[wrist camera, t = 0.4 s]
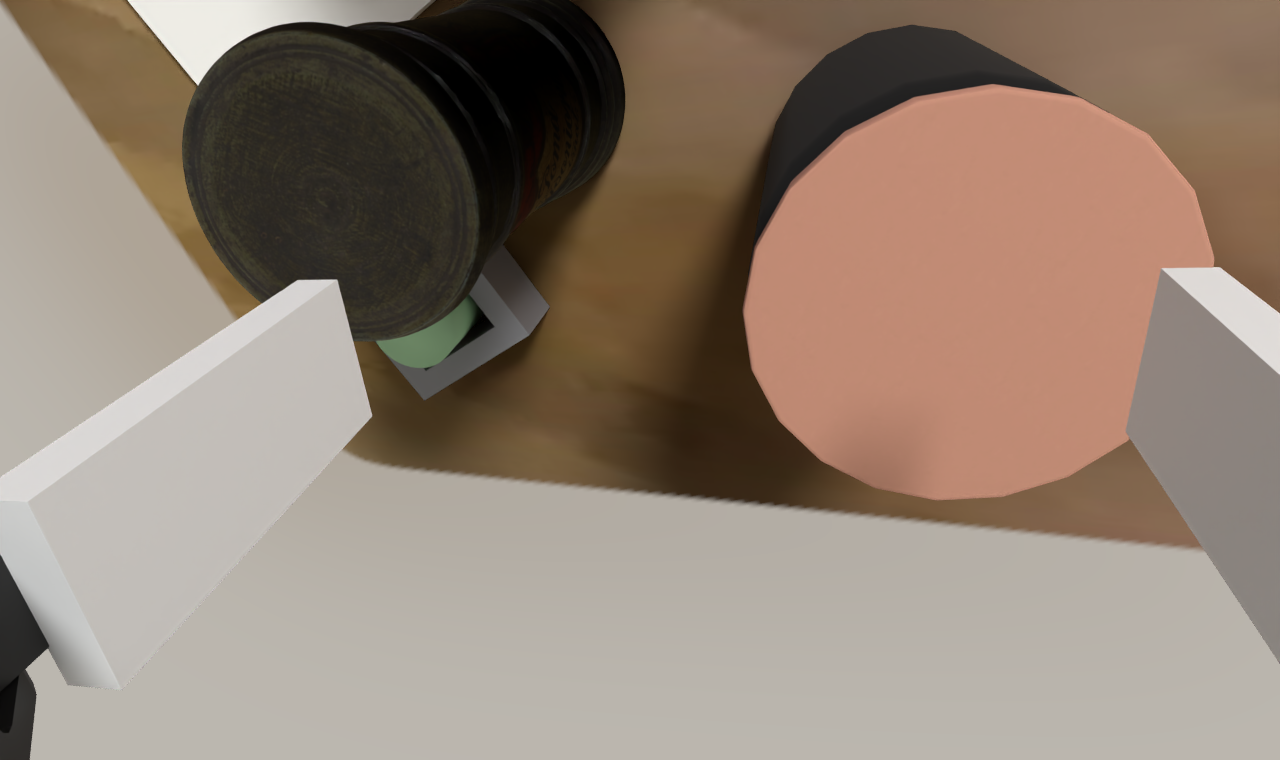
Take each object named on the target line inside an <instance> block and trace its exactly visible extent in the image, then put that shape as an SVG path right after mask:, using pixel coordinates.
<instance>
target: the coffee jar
mask: <svg viewBox="0 0 1280 760" xmlns="http://www.w3.org/2000/svg"><path fill="white" fill-rule="evenodd" d="M1213 265H1214V255H1213V252H1212V248H1211V245H1210V242H1209V238H1208V235H1207V231H1206V228H1205V224H1204V221H1203V218H1202V214H1201V211H1200V207H1199V204H1198V200H1197V197H1196V194H1195V190H1194V189H1193V188H1192V186H1191V185H1190V184H1189V183H1188V182H1187V180H1186V179H1185V178H1184V177H1183V176H1182V174H1181V173H1180V172H1179V171H1178V170H1177V168H1176V167H1175V166H1174V165H1173V164H1172V162H1171V161H1170V160H1169V159H1168V158H1167V156H1166V155H1165V154H1164V153H1163V151H1162V150H1161V149H1160V148H1159V147H1158V145H1157V144H1156V143H1155V142H1154V141H1153V139H1152V138H1151V137H1150V136H1149V135H1148V134H1147V133H1145V132H1143V131H1141V130H1139V129H1138V128H1136V127H1134V126H1132V125H1130V124H1128V123H1126V122H1125V121H1123V120H1121V119H1119V118H1117V117H1115V116H1113V115H1112V114H1110V113H1109V112H1107V111H1105V110H1103V109H1102V108H1100V107H1098V106H1096V105H1094V104H1092V103H1090V102H1088V101H1087V100H1085V99H1083V98H1081V97H1079V96H1077V95H1075V94H1074V93H1072V92H1070V91H1068V90H1066V89H1064V88H1062V87H1061V86H1059V85H1057V84H1055V83H1053V82H1051V81H1049V80H1048V79H1046V78H1044V77H1042V76H1040V75H1038V74H1036V73H1034V72H1032V71H1030V70H1029V69H1027V68H1025V67H1023V66H1021V65H1019V64H1017V63H1015V62H1013V61H1011V60H1010V59H1008V58H1006V57H1004V56H1002V55H1000V54H998V53H996V52H994V51H992V50H990V49H989V48H987V47H985V46H983V45H981V44H979V43H977V42H975V41H973V40H971V39H970V38H968V37H966V36H964V35H962V34H960V33H958V32H956V31H951V30H944V29H937V28H930V27H923V26H916V25H908V26H903V27H898V28H892V29H887V30H882V31H876V32H871V33H867V34H865V35H863V36H861V37H859V38H857V39H855V40H854V41H852V42H850V43H848V44H846V45H844V46H842V47H841V48H839V49H837V50H835V51H833V52H831V53H829V54H827V55H826V56H825V57H824V58H823V59H822V60H821V61H820V62H819V63H818V64H817V65H816V66H815V67H814V68H813V69H812V70H811V71H810V72H809V73H808V74H807V75H806V76H805V77H804V78H803V79H802V80H801V81H800V82H799V83H798V84H797V85H796V86H795V88H794V90H793V92H792V94H791V96H790V98H789V100H788V101H787V103H786V105H785V107H784V109H783V111H782V113H781V114H780V116H779V118H778V120H777V122H776V124H775V129H774V134H773V140H772V145H771V150H770V155H769V160H768V166H767V171H766V177H765V182H764V188H763V194H762V199H761V205H760V210H759V216H758V222H757V227H756V233H755V238H754V244H753V249H752V255H751V261H750V266H749V272H748V283H747V288H746V294H745V299H744V304H743V309H742V311H743V318H744V325H745V331H746V338H747V345H748V352H749V358H750V365H751V370H752V371H753V373H754V375H755V377H756V379H757V381H758V383H759V385H760V387H761V388H762V390H763V392H764V394H765V396H766V398H767V400H768V402H769V404H770V405H771V407H772V409H773V411H774V413H775V415H776V417H777V419H778V420H779V421H780V422H781V423H782V424H783V425H784V426H785V427H786V428H787V429H788V430H789V431H790V432H791V433H792V434H793V435H794V436H795V437H796V438H797V439H798V440H800V441H801V442H802V443H803V444H804V445H805V446H806V447H807V448H808V449H809V450H810V451H811V452H812V453H813V454H814V455H815V456H816V457H817V458H818V459H820V460H821V461H822V462H824V463H826V464H828V465H830V466H832V467H834V468H836V469H838V470H840V471H842V472H844V473H846V474H848V475H850V476H852V477H854V478H856V479H858V480H860V481H862V482H864V483H866V484H868V485H870V486H872V487H874V488H877V489H882V490H887V491H892V492H897V493H902V494H907V495H912V496H917V497H922V498H927V499H932V500H953V499H971V498H990V497H1003V496H1007V495H1010V494H1013V493H1017V492H1020V491H1023V490H1026V489H1030V488H1033V487H1036V486H1040V485H1043V484H1046V483H1049V482H1053V481H1056V480H1059V479H1062V478H1066V477H1068V476H1070V475H1072V474H1073V473H1075V472H1077V471H1078V470H1080V469H1082V468H1083V467H1085V466H1087V465H1088V464H1090V463H1092V462H1093V461H1095V460H1097V459H1098V458H1100V457H1102V456H1103V455H1105V454H1106V453H1108V452H1110V451H1111V450H1113V449H1115V448H1116V447H1118V446H1120V445H1121V444H1123V443H1125V442H1126V441H1128V440H1129V439H1130V438H1129V436H1128V434H1127V433H1126V426H1127V421H1128V417H1129V412H1130V408H1131V403H1132V399H1133V394H1134V389H1135V385H1136V380H1137V376H1138V371H1139V367H1140V362H1141V358H1142V353H1143V348H1144V344H1145V339H1146V335H1147V330H1148V326H1149V321H1150V317H1151V312H1152V307H1153V303H1154V298H1155V294H1156V289H1157V285H1158V280H1159V275H1160V271H1161V268H1213Z"/></svg>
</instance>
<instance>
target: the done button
mask: <svg viewBox="0 0 1280 760" xmlns="http://www.w3.org/2000/svg"><path fill="white" fill-rule="evenodd" d="M483 314H484V312H483V311H482V310H481V309H480V307H479V306H478V305H477V303H476V302H475V301H474V300H473V298H472V297H471V296H470V295H469V294H468V296H467V297H466V298H465V299H464V300H463V301H462V302H461V303H460V305H459V306H458V307H456V308H455V309H454V310H453V311H452V312H451V313H450V314H448V315H447V316H446V317H444V318H443V319H441V320H440V321H438V322H437V323H435V324H433V325H431V326H430V327H428V328H426V329H423V330H421V331H419V332H416V333H413V334H411V335H408V336H404V337H400V338H396V339H391V340H383V341H376V342H377V344H378V345H379V347H380V348H381V349H382V350H383V351H384V353H386V354H387V355H388V356H389V357H390V358H392V359H393V360H395V361H396V362H398V363H400V364H403V365H405V366H409V367H414V368H427V367H431V366H434V365H436V364H438V363H440V362H441V361H442V360H444V359H445V358H446V356H447V355H448V354H449V353H450V352H451V351H452V350H453V349H454V347H455V346H456V345H457V344H458V343H459V342H460V341H461V340H462V338H463V337H464V336H465V335H466V334H467V333H468V332H469V331H470V329H471V328H472V327H473V326H474V325H475V324H476V323H477V322H478V320H479V319H480V318H481V317H482V315H483Z"/></svg>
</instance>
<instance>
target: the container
mask: <svg viewBox="0 0 1280 760" xmlns="http://www.w3.org/2000/svg"><path fill="white" fill-rule="evenodd" d="M624 112H625V88H624V81H623V76H622V72H621V68H620V65H619V62H618V59H617V57H616V54H615V52H614V50H613V48H612V46H611V44H610V42H609V41H608V39H607V37H606V36H605V34H604V33H603V31H602V30H601V29H600V27H599V26H598V25H597V24H596V23H595V22H594V21H593V20H592V18H591V17H590V16H588V15H587V14H586V13H585V12H584V11H583V10H582V9H580V8H579V7H578V6H576V5H575V4H574V3H572V2H570V1H569V0H468V1H466V2H464V3H462V4H461V5H459V6H458V7H455V8H452V9H449V10H447V11H445V12H443V13H441V14H439V15H437V16H432V17H426V18H421V19H414V20H406V21H400V22H394V23H393V22H367V23H360V24H355V25H351V26H347V27H344V26H340V25H335V24H329V23H321V22H295V23H288V24H282V25H277V26H273V27H270V28H267V29H265V30H262V31H260V32H257V33H255V34H252V35H251V36H249V37H247V38H245V39H243V40H242V41H240V42H239V43H237V44H236V45H234V46H233V47H231V48H230V49H229V50H228V51H226V52H225V53H224V54H223V55H222V56H221V57H220V58H219V59H218V60H217V61H216V62H215V63H214V64H213V65H212V66H211V68H210V69H209V70H208V71H207V73H206V74H205V76H204V77H203V79H202V80H201V82H200V83H199V85H198V87H197V88H196V90H195V93H194V95H193V97H192V99H191V102H190V105H189V108H188V111H187V115H186V119H185V124H184V129H183V142H182V156H183V167H184V174H185V180H186V185H187V189H188V193H189V197H190V200H191V203H192V206H193V209H194V212H195V214H196V217H197V219H198V222H199V224H200V226H201V228H202V230H203V232H204V234H205V236H206V237H207V239H208V241H209V243H210V244H211V246H212V248H213V249H214V251H215V253H216V254H217V256H218V257H219V258H220V260H221V261H222V263H223V264H224V265H225V267H226V268H227V269H228V270H229V271H230V273H231V274H232V275H233V276H234V277H235V278H236V280H237V281H238V282H239V283H240V284H241V285H242V286H243V287H244V288H245V289H246V290H247V291H248V292H249V293H250V294H252V295H253V296H254V297H255V298H256V299H257V300H259V301H260V302H261V303H264V302H265V301H267V300H268V299H270V298H271V297H273V296H274V295H276V294H277V293H279V292H280V291H282V290H283V289H285V288H286V287H288V286H289V285H291V284H292V283H294V282H296V281H297V280H337V281H338V285H339V288H340V292H341V296H342V300H343V304H344V308H345V312H346V316H347V320H348V323H349V327H350V331H351V335H352V339H353V341H383V340H391V339H396V338H400V337H404V336H408V335H411V334H413V333H416V332H419V331H421V330H423V329H426V328H428V327H430V326H431V325H433V324H435V323H437V322H438V321H440V320H441V319H443V318H444V317H446V316H447V315H448V314H450V313H451V312H452V311H453V310H454V309H455V308H456V307H458V306H459V305H460V303H461V302H462V301H463V300H464V299H465V298H466V297H467V296H468V294H469V293H470V291H471V290H472V288H473V287H474V285H475V283H476V282H477V280H478V278H479V276H480V274H481V272H482V269H483V267H484V264H485V263H486V262H487V261H488V260H489V259H490V258H492V257H493V256H494V255H495V254H496V252H497V251H498V250H499V249H500V248H501V246H502V245H503V244H504V242H505V241H506V239H507V238H508V236H509V235H510V234H511V233H512V232H513V231H514V230H516V229H517V228H518V227H519V226H520V225H521V224H522V223H523V222H524V221H525V220H526V218H527V217H528V216H529V215H530V214H532V213H533V212H534V211H535V210H537V209H539V208H541V207H543V206H545V205H546V204H548V203H549V202H551V201H553V200H555V199H558V198H560V197H562V196H564V195H566V194H567V193H569V192H571V191H572V190H574V189H576V188H578V187H579V186H581V185H582V184H584V183H585V182H587V181H588V180H589V179H590V178H592V177H593V176H594V175H595V174H596V173H597V172H598V171H599V170H600V169H601V167H602V166H603V165H604V164H605V162H606V161H607V160H608V158H609V157H610V155H611V153H612V152H613V150H614V148H615V145H616V143H617V141H618V138H619V135H620V132H621V128H622V124H623V119H624Z"/></svg>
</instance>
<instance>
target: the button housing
mask: <svg viewBox="0 0 1280 760" xmlns="http://www.w3.org/2000/svg"><path fill="white" fill-rule="evenodd" d="M469 295H470V296H471V297H472V298H473V300H474V301H475V302H476V303H477V305H478V306H479V307H480V309H481V310H482V311H483V312H484V314H485V315H486V316H487V318H488V319H487V320H485V321H484V322H482V323H481V324H479V325H478V326H476V327H474V328H473V329H471V330H470V331H469V332H468V333H467V334H466V335H465V336H464V337H463V338H462V340H461V341H460V342H459V343H458V344H457V345H456V346H455V347H454V349H453V350H452V351H451V352H450V353H449V354H448V355H447V356H446V358H445V359H444V360H442V361H441V362H440V363H438V364H436V365H434V366H431V367H427V368H414V367H409V366H405V365H403V364H400V363H398V362H396V361H395V360H393V359H392V358H390V357H389V356H388V355H387V354H386V353H385V354H386V355H387V357H388V358H389V359H390V360H391V361H392V362H393V364H394V365H395V366H396V367H397V368H398V370H399V371H400V372H401V373H402V374H403V376H404V377H405V378H406V379H407V380H408V381H409V383H410V384H411V385H412V386H413V387H414V389H415V390H416V391H417V392H418V393H419V395H420V396H421V397H422V398H423V399H424V401H425V400H426V399H428V398H429V397H431V396H433V395H434V394H436V393H437V392H439V391H441V390H442V389H444V388H445V387H447V386H449V385H450V384H452V383H453V382H455V381H457V380H458V379H460V378H461V377H463V376H465V375H466V374H468V373H469V372H471V371H473V370H474V369H476V368H477V367H479V366H481V365H482V364H484V363H486V362H487V361H489V360H490V359H492V358H494V357H495V356H497V355H498V354H500V353H502V352H503V351H505V350H506V349H508V348H510V347H511V346H513V345H514V344H516V343H518V342H519V341H521V340H522V339H524V338H526V337H527V336H529V335H530V334H531V332H532V331H533V330H534V328H535V327H536V325H537V324H538V323H539V321H540V320H541V319H542V317H543V316H544V314H545V313H546V312H547V310H548V309H549V305H548V304H547V303H546V301H545V300H544V299H543V297H542V296H541V295H540V293H539V292H538V291H537V289H536V288H535V287H534V285H533V284H532V283H531V281H530V280H529V279H528V277H527V276H526V275H525V273H524V272H523V271H522V269H521V268H520V267H519V265H518V264H517V263H516V261H515V260H514V259H513V257H512V256H511V255H510V253H509V252H508V251H507V249H506V248H505V247H504V245H502V246H501V248H500V249H499V250H498V251H497V252H496V254H495V255H494V256H493V257H492V258H490V259H489V260H488V261H487V262H486V263H485V264H484V267H483V269H482V272H481V274H480V276H479V278H478V280H477V282H476V283H475V285H474V287H473V288H472V290H471V291H470V293H469ZM375 342H376V341H375ZM376 343H377V342H376ZM377 345H378V344H377ZM378 346H379V345H378ZM382 351H383V350H382ZM383 352H384V351H383Z"/></svg>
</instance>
